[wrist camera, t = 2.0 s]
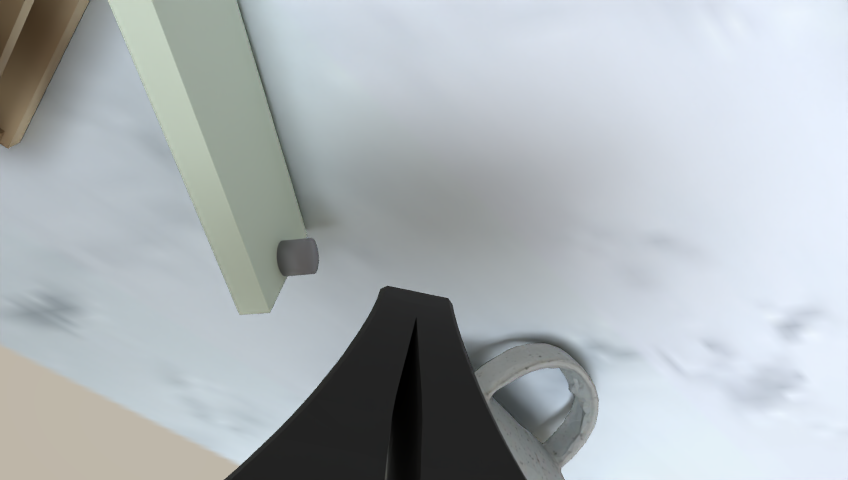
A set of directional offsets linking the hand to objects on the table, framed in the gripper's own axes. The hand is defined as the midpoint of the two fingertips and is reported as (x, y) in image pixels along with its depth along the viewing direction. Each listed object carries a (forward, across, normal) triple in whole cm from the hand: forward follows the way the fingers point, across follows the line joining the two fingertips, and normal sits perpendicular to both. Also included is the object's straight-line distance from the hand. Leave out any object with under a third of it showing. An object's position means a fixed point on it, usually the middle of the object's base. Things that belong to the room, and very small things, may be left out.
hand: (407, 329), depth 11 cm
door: (+9, +6, 0) cm, 11 cm away
